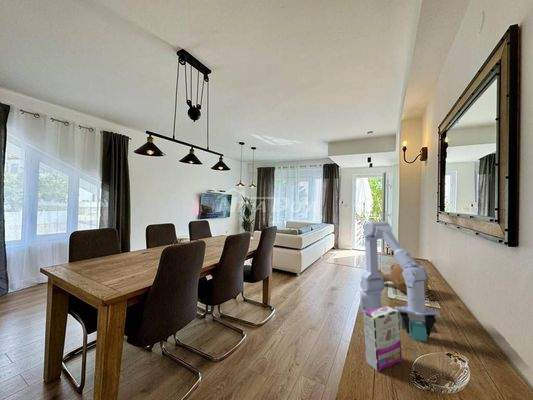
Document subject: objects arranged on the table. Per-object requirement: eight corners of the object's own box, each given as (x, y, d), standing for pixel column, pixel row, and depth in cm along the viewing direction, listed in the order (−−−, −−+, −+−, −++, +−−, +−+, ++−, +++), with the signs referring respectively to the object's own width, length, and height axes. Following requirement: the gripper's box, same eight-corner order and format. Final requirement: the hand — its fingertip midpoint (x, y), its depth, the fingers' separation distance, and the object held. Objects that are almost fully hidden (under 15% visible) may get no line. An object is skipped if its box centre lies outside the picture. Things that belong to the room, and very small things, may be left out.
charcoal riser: (402, 328, 95) (401, 319, 96) (396, 317, 105) (396, 309, 105) (430, 331, 92) (429, 322, 93) (422, 319, 102) (421, 311, 102)
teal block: (413, 340, 87) (412, 326, 87) (409, 333, 91) (408, 320, 92) (426, 341, 86) (426, 328, 86) (422, 335, 90) (422, 322, 90)
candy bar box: (388, 353, 80) (386, 304, 80) (402, 362, 75) (399, 310, 76) (364, 362, 75) (362, 311, 76) (377, 372, 70) (375, 317, 71)
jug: (416, 281, 118) (364, 275, 143) (431, 306, 123) (378, 296, 147) (425, 253, 129) (375, 252, 153) (439, 277, 133) (388, 272, 158)
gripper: (397, 299, 88) (399, 336, 87) (442, 303, 83) (444, 342, 83) (393, 293, 94) (394, 327, 94) (434, 296, 90) (436, 332, 89)
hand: (417, 333), depth 89 cm, fingers open, 6 cm apart
